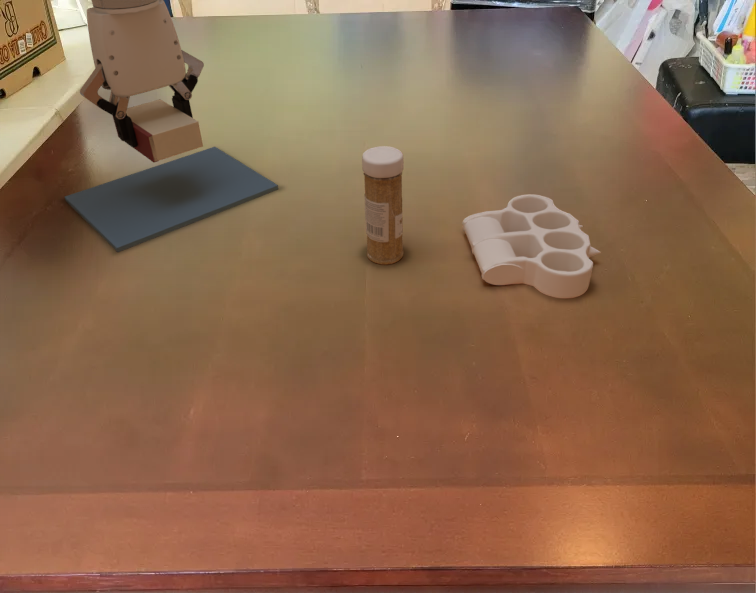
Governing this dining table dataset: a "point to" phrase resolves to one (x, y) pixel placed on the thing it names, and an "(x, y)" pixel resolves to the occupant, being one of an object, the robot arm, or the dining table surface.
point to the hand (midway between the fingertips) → (158, 134)
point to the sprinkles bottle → (383, 203)
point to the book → (163, 130)
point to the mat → (168, 197)
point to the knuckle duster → (532, 247)
